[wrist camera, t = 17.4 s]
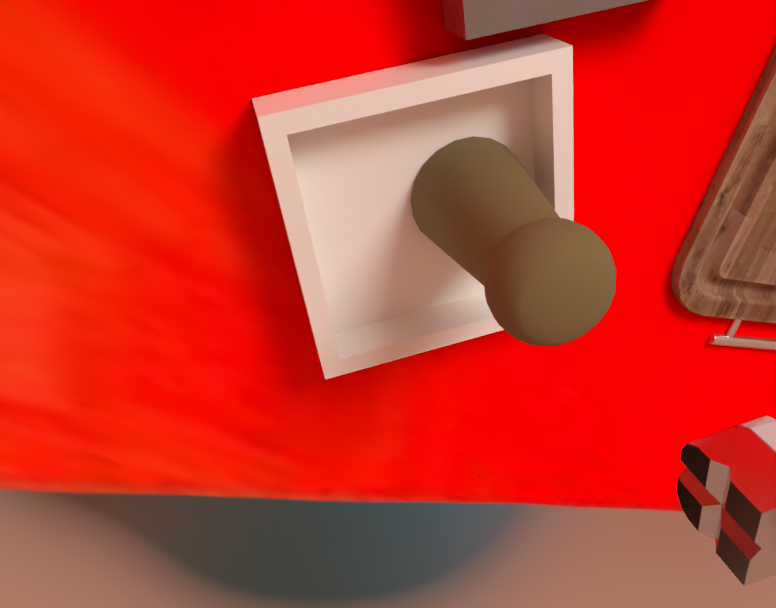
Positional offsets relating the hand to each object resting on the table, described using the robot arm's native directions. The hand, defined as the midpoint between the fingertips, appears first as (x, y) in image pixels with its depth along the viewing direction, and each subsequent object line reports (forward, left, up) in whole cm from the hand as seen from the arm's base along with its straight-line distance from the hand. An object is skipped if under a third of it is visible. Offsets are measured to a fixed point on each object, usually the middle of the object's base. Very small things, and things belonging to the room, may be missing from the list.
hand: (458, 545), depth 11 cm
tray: (+6, -6, -25) cm, 26 cm away
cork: (+8, -6, -24) cm, 26 cm away
